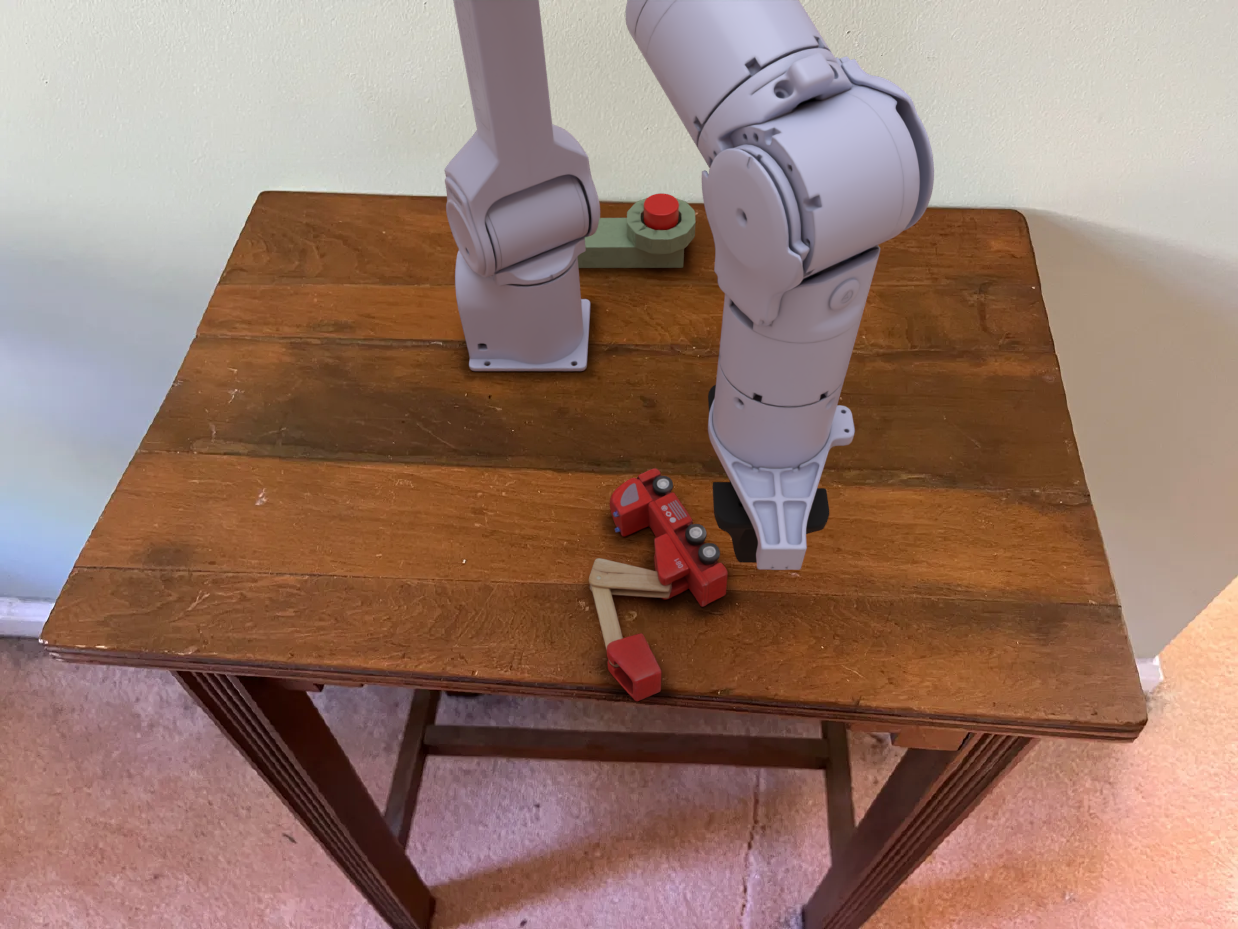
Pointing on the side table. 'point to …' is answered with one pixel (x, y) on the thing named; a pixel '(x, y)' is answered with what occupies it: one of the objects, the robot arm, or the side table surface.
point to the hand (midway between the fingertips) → (752, 521)
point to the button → (661, 211)
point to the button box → (638, 241)
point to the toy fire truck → (652, 573)
